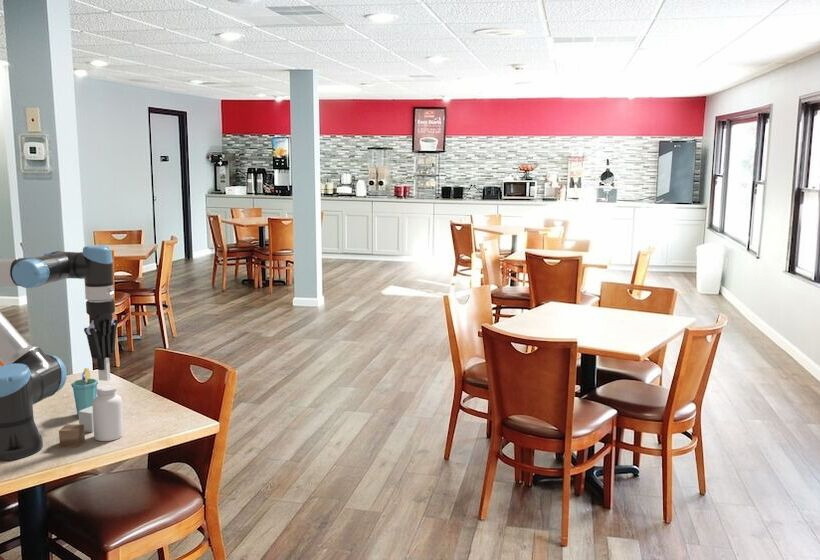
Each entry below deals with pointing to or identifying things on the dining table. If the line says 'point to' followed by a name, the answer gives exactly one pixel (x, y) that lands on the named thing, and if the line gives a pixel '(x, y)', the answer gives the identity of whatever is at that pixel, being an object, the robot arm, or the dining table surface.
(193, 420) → the dining table surface
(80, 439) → the walnut cube
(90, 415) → the white block
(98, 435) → the pill bottle
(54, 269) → the robot arm
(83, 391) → the cup
